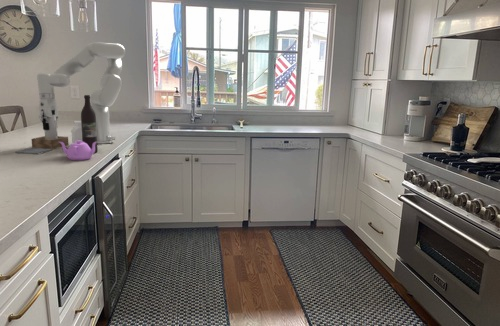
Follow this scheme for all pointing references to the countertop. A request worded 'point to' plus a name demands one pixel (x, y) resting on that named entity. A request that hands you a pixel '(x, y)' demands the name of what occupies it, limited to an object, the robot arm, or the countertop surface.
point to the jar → (77, 132)
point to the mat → (34, 150)
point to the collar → (49, 142)
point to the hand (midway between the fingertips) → (50, 128)
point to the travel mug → (51, 127)
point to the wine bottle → (88, 124)
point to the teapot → (79, 150)
